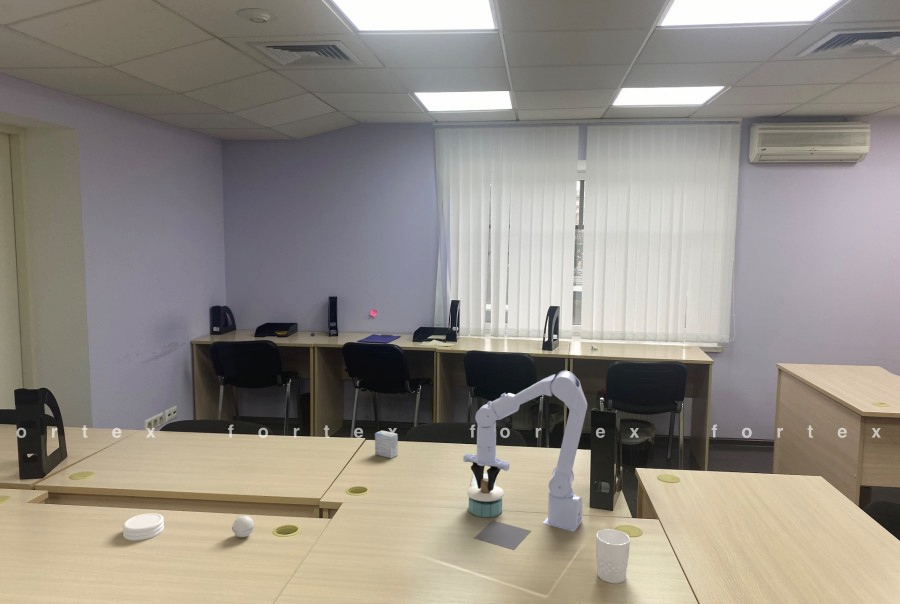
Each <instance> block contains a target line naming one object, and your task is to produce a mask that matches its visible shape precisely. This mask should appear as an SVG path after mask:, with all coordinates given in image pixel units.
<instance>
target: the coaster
mask: <svg viewBox="0 0 900 604" xmlns="http://www.w3.org/2000/svg"><path fill="white" fill-rule="evenodd" d="M164 520H165V518H164V516H163V515H162V514H159V513H156V512H154V513H153V512H147V513H141V514H138V515H135V516H131V518H129V519H127V520H126V521H125V522H124V523H123V525H122V532H123V534H122V535H123V538H124V539H125V540H127V541H131V542H133V541H134V542H136V541H145V540H149V539H151V538H154V537H156V536H159V535H160V534H161V533H162V532H163V531H164V530H165V529H164V528H165V521H164Z"/></svg>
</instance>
